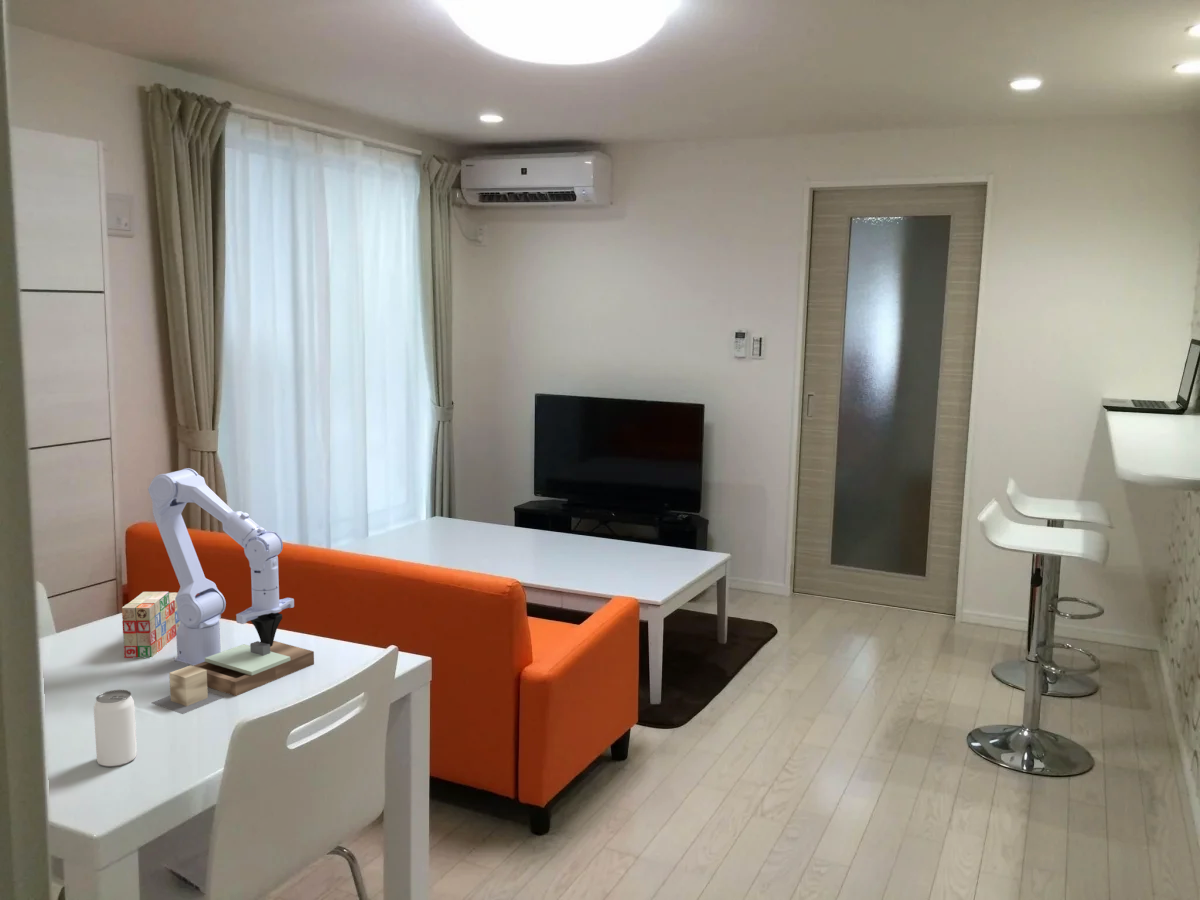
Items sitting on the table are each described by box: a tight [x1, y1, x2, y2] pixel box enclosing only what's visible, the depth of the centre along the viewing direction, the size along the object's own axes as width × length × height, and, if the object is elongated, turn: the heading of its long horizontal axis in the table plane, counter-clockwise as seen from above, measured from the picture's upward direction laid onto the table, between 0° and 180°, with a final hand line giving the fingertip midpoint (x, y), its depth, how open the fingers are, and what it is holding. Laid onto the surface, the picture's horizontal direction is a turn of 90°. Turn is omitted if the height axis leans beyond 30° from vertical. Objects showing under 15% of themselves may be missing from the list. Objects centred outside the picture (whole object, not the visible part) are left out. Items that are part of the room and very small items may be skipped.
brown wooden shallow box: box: [193, 640, 315, 697], centre depth 214 cm, size 15×22×4 cm
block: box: [169, 664, 209, 706], centre depth 198 cm, size 5×5×6 cm
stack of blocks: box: [121, 591, 181, 659], centre depth 232 cm, size 21×6×12 cm, turn 3°
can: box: [93, 689, 138, 768], centre depth 173 cm, size 6×6×12 cm
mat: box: [151, 691, 225, 715], centre depth 199 cm, size 10×10×1 cm
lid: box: [205, 640, 290, 675], centre depth 212 cm, size 15×10×3 cm
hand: (267, 646), depth 217 cm, fingers closed
